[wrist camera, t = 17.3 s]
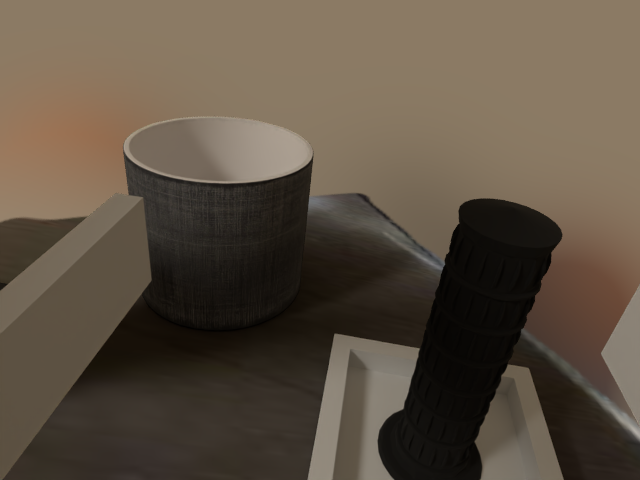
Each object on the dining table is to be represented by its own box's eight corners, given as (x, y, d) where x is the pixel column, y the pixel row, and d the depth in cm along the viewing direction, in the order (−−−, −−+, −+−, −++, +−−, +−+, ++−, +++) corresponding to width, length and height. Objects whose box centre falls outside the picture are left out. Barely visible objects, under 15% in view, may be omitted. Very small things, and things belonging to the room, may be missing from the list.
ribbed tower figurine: (495, 506, 42) (467, 412, 50) (625, 254, 28) (556, 184, 37) (382, 497, 41) (373, 404, 50) (458, 238, 28) (428, 171, 36)
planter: (135, 342, 55) (114, 185, 45) (143, 243, 73) (129, 114, 63) (318, 323, 61) (335, 181, 51) (283, 235, 79) (291, 117, 69)
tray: (295, 550, 38) (299, 527, 36) (331, 355, 56) (334, 333, 55) (579, 612, 36) (598, 590, 34) (518, 389, 55) (528, 368, 53)
